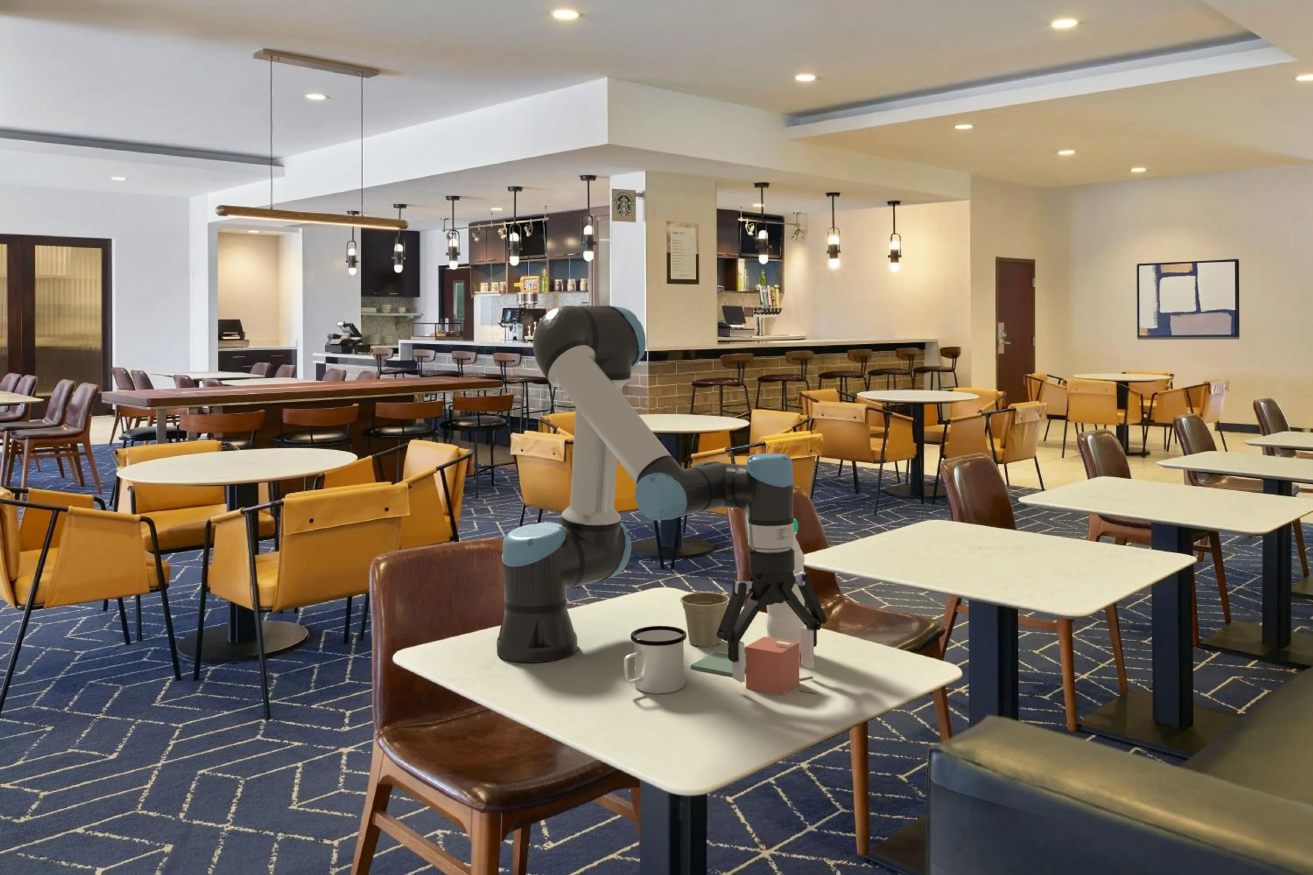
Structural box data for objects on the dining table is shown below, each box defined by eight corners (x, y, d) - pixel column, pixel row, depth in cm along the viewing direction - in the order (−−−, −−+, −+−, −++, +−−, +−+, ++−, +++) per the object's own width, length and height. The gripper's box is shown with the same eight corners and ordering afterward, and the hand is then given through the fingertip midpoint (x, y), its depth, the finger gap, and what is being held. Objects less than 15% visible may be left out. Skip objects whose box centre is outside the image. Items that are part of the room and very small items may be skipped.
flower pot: (740, 643, 195) (739, 599, 194) (700, 653, 190) (699, 607, 189) (710, 632, 203) (709, 589, 202) (671, 641, 198) (670, 597, 197)
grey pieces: (759, 686, 172) (759, 663, 171) (783, 671, 179) (783, 649, 178) (812, 696, 166) (812, 672, 166) (834, 680, 173) (834, 657, 173)
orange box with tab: (745, 687, 171) (745, 643, 170) (764, 676, 176) (763, 633, 176) (781, 694, 167) (781, 649, 167) (799, 682, 173) (799, 638, 172)
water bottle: (804, 659, 185) (803, 522, 183) (764, 657, 187) (763, 521, 184) (806, 647, 192) (805, 515, 190) (768, 645, 193) (767, 514, 191)
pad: (690, 668, 181) (690, 665, 181) (716, 654, 189) (716, 651, 189) (735, 676, 176) (735, 673, 176) (759, 662, 184) (759, 659, 184)
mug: (663, 672, 180) (662, 622, 179) (699, 686, 172) (698, 633, 171) (608, 688, 172) (606, 636, 171) (643, 703, 165) (642, 648, 164)
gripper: (717, 560, 161) (720, 692, 163) (846, 542, 172) (848, 666, 174) (694, 552, 167) (697, 679, 169) (820, 535, 178) (821, 654, 180)
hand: (773, 673), depth 172 cm, fingers open, 13 cm apart
